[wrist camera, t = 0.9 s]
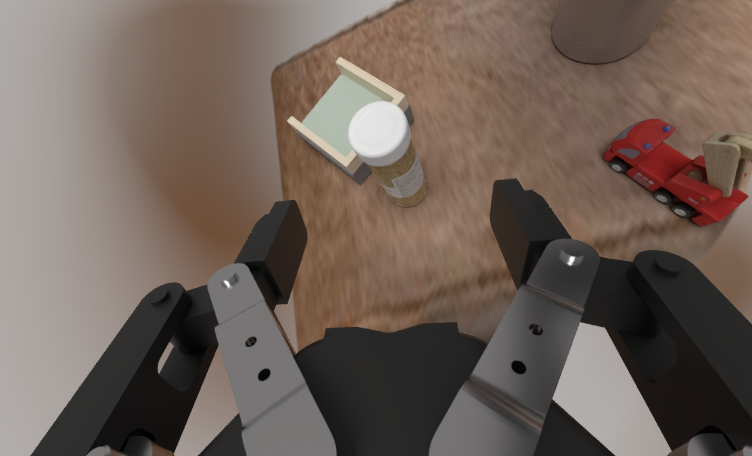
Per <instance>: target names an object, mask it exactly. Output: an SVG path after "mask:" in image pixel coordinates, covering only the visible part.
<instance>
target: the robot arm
mask: <svg viewBox="0 0 752 456" xmlns="http://www.w3.org/2000/svg"><path fill="white" fill-rule="evenodd" d="M673 2H674V0H560V2H559V5H558V8H557V11H556V14H555V18H554V21H553V25H552V38H553V42H554V44H555V45H556V47H557V48H558V50H560V51H561V52H562V53H563V54H564V55H566V56H567V57H569V58H571V59H573V60H576V61H580V62H584V63H606V62H611V61H615V60H618V59H621V58H624V57H626V56H627V55H629V54H631V53H633V52H634V51H636V50H637V49H638V48H639V47H640V46H642V45H643V43H644V42H645V41H646V40H647V38H648V37H649V36H650V34H651V33H652V31H653V30H654V29H655V27H656V26H657V24H658V23H659V21H660V20H661V19H662V17H663V16H664V14H665V13H666V11H667V10H668V9H669V7H670V6H671V5H672V3H673ZM490 222H491V227H492V230H493V232H494V235H495V237H496V239H497V242H498V244H499V247H500V249H501V252H502V254H503V257H504V259H505V261H506V264H507V266H508V269H509V271H510V274H511V276H512V279H513V281H514V283H515V286H516V288H517V291H518V292H517V294H516V295H515V297H514V299H513V301H512V303H511V304H510V306H509V308H508V310H507V311H506V313H505V315H504V317H503V319H502V320H501V322H500V324H499V326H498V328H497V329H496V331H495V333H494V335H493V337H492V338H491V340H490V342H489V344H487V343H486V342H484V341H482V340H480V339H478V338H476V337H473V336H470V335H467V334H464V333H459V332H458V327H457V322H450V323H429V324H421V325H417V326H414V327H410V328H407V329H403V330H400V331H396V332H393V333H385V332H380V331H375V330H370V329H365V328H360V327H344V328H326V330H325V336H324V339H321V340H319V341H316V342H314V343H312V344H310V345H308V346H306V347H305V348H303V349H302V350H300V351H299V352H298V353H297V354H296V352H295V351H294V348H293V347H292V345H291V343H290V341H289V339H288V337H287V335H286V333H285V331H284V330H283V328H282V326H281V324H280V322H279V320H278V318H277V316H276V315H275V313H274V309H275V306H276V305H278V304H288V300H289V297H290V294H291V291H292V288H293V285H294V282H295V278H296V275H297V272H298V269H299V266H300V263H301V260H302V257H303V253H304V250H305V247H306V244H307V230H306V226H305V224H304V221H303V218H302V216H301V213H300V210H299V207H298V205H297V203H296V201H295V200H288V201H279V202H275V204H274V206H273V207H272V209H271V211H270V213H269V214H266V215H264V216H263V217H262V218H261V219H260V220H259V221H258V222H257V223H256V224H255V226H254V228H253V230H252V233H250V235H249V237H248V240H247V241H246V243H245V244H244V246H243V248H242V250H241V252H240V253H239V255H238V257H237V259H236V260H235V262H234V264H231V265H228V266H225V267H223V268H222V269H220V270H218V271H217V272H216V273H215V274H214V275H213V276H212V277H211V278H210V280H209V282H208V284H207V285H204V286H201V287H198V288H195V289H192V290H188V291H186V290H185V289H184V287H183V286H182V285H181V284H179V283H175V282H174V283H167V284H164V285H162V286H159V287H157V288H155V289H154V290H152V291H151V292H150V293H148V294H147V295H146V296H145V297H144V298H143V299H142V300H141V302H140V303H139V305H138V306H137V307H136V309H135V310H134V312H133V313H132V314H131V316H130V317H129V319H128V320H127V322H126V323H125V324H124V326H123V327H122V328H121V330H120V331H119V333H118V334H117V335H116V337H115V338H114V340H113V341H112V342H111V344H110V345H109V347H108V348H107V349H106V351H105V352H104V354H103V355H102V356H101V358H100V359H99V361H98V362H97V363H96V365H95V366H94V368H93V369H92V371H91V372H90V373H89V375H88V376H87V377H86V379H85V380H84V382H83V383H82V384H81V386H80V387H79V389H78V390H77V391H76V393H75V394H74V396H73V397H72V398H71V400H70V401H69V403H68V404H67V406H66V407H65V408H64V410H63V411H62V412H61V414H60V415H59V417H58V418H57V419H56V421H55V422H54V424H53V425H52V426H51V428H50V429H49V431H48V432H47V434H46V435H45V436H44V438H43V439H42V440H41V442H40V443H39V445H38V446H37V447H36V449H35V450H34V452H33V453H32V454H31V456H174V452H175V449H176V447H177V445H178V442H179V440H180V437H181V435H182V432H183V430H184V428H185V425H186V423H187V420H188V418H189V415H190V413H191V411H192V408H193V406H194V403H195V401H196V398H197V396H198V393H199V391H200V389H201V386H202V384H203V381H204V379H205V377H206V374H207V372H208V369H209V367H210V364H211V362H212V360H213V357H214V355H215V352H216V350H217V348H218V345H219V347H220V350H221V353H222V356H223V360H224V364H225V367H226V370H227V373H228V377H229V380H230V384H231V387H232V390H233V394H234V397H235V400H236V404H237V407H238V411H239V413H238V414H237V416H235V417H234V419H233V420H232V421H231V422H230V423H229V424H228V425H227V426H226V427H225V428H224V429H223V430H222V431H221V432H220V433H219V434H218V435H217V436H216V437H215V438H214V440H213V441H212V442H211V443H210V444H209V445H208V446H207V447H206V448H205V449H204V450H203V451H202V452H201V453H200V454H199V455H198V456H615V455H614V454H613V453H612V452H610V451H609V450H608V449H607V448H606V447H605V446H604V445H603V444H602V443H600V442H599V441H598V440H597V439H596V438H595V437H594V436H593V435H591V434H590V433H589V432H588V431H587V430H586V429H585V428H584V427H583V426H582V425H580V424H579V423H578V422H577V421H576V420H575V419H574V418H573V417H572V416H570V415H569V414H568V413H567V412H566V411H565V410H564V409H563V408H561V407H560V406H559V405H558V404H557V403H556V402H555V401H554V400H553V399H552V398H553V395H554V392H555V390H556V387H557V384H558V381H559V379H560V376H561V373H562V370H563V368H564V365H565V362H566V359H567V356H568V354H569V351H570V348H571V345H572V343H573V340H574V336H575V334H576V331H577V328H578V326H579V323H580V322H582V323H587V324H591V325H596V326H600V327H605V329H606V330H607V332H608V334H609V336H610V338H611V340H612V341H613V343H614V345H615V347H616V349H617V351H618V352H619V354H620V356H621V358H622V360H623V362H624V363H625V365H626V367H627V369H628V371H629V373H630V375H631V377H632V378H633V380H634V382H635V384H636V386H637V388H638V389H639V391H640V393H641V395H642V397H643V399H644V400H645V402H646V404H647V406H648V408H649V410H650V412H651V413H652V415H653V417H654V419H655V421H656V423H657V425H658V426H659V428H660V430H661V432H662V434H663V436H664V437H665V439H666V441H667V443H668V445H669V447H670V449H671V450H672V452H671V453H669V454H668V455H667V456H752V324H751V323H750V322H749V321H748V320H747V319H746V318H745V317H744V316H743V315H742V314H741V313H740V312H739V311H738V310H737V309H736V308H735V307H734V306H733V304H732V303H730V301H729V300H728V299H727V298H726V297H725V296H724V295H723V294H722V293H721V292H720V291H719V290H718V289H717V288H716V287H715V286H714V285H713V284H712V283H711V282H710V281H709V280H708V279H707V278H706V277H705V276H704V274H703V273H701V271H700V270H699V269H698V268H697V267H696V266H695V265H693V264H692V263H691V262H689V261H688V260H686V259H684V258H682V257H680V256H678V255H675V254H672V253H669V252H664V251H658V250H648V251H643V252H641V253H639V254H637V255H636V257H635V259H634V260H633V262H629V261H622V260H615V259H608V258H603V257H599V254H598V253H597V252H596V251H595V250H594V249H593V248H592V247H591V246H589V245H587V244H585V243H583V242H581V241H577V240H573V239H572V238H571V236H570V235H569V234H568V232H567V231H566V229H565V228H564V227H563V225H562V224H561V222H560V221H559V219H558V218H557V217H556V215H554V212H553V211H552V209H551V208H549V205H548V204H547V202H546V201H545V199H544V198H543V197H542V196H540V195H539V194H537V193H536V192H534V191H533V190H525V191H524V189H523V187H522V186H521V184H520V183H519V181H518V180H517V179H516V178H515V179H505V180H496V181H495V182H494V185H493V193H492V202H491V210H490ZM169 342H170V343H172V344H173V345H174V347H173V349H172V351H171V353H170V355H169V357H168V359H167V360H166V362H165V364H164V366H163V368H162V370H161V371H160V373H159V374H158V362H159V360H160V358H161V356H162V354H163V352H164V350H165V349H166V347H167V345H168V343H169Z"/></svg>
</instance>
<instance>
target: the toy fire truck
mask: <svg viewBox="0 0 752 456" xmlns="http://www.w3.org/2000/svg"><path fill="white" fill-rule="evenodd" d="M674 131H675V128H674V127H672V126H671V125H669V124H667V123H665V122H664V121H662V120H659V119H648V120H645V121H641V122H639V123H636V124H634V125H632V126H630V127H628V128H627V129H625V130H624V131H623V132H621V133H620V134H619V135H618V137H617V138H616V139H615V141H614V142H613V143H612V144H611V145H610V146H609V147H608V149H607V150H606V152H605V154H604V159H605V160H607V161H612V162H611V163H610V167H611V168H612V169H613V170H614V171H616V172H619V173H622V172H625V171H626V174H627V175H628V176H630V177H631V178H632V179H634V180H635V181H637V182H638V183H640V184H642V185H643V186H644V187H646V188H647V189H649V190H650V191H654V192H655V194H654V197H655V199H656V200H657V201H659V202H661V203H664V204H669V203H673V200H674V201H675V202H677V204H675V205H674V206H673V207H672V211H673V212H674V213H675V214H676V215H678V216H681V217H685V218H686V217H690V216H691V215H693V214H694V216H693V217H692V221H694V222H695V223H696V224H698V225H700V226H705V225H708V224H711V223H714V222H719V221H721V220H722V219H723V218H724V217H725V216H727V215H728V214H729V213H730V212H731V211H733V210H734V209H735V208H736V207H737V206H739V205H740V204H741V203H742V202H743V201H744V200H746V199H747V198H748V195H746V194H745V193H743V192H741V191H740V190H738V189H740V188H741V186H742V182H743V179H744V177H745V176H746V173H745V171H746V167H747V163H748V161H750V162H752V136H751V135H750V134H748V133H742V132H728V131H717V132H715V133H714V134H713V135H711V136H710V137H709V138H708V139H707V140H706V141H704V142H703V144H702V147H703V153H704V156H699V157H697V158H695V159H694V160H691V159H689V158H688V157H686V156H684V155H683V154H681V153H680V152H678V151H676V150H675V149H673V148H672V147H670V146H668V145H667V144H665V143H663V141H664V140H665V139H666V138H667V137H669V136H670V135H671V134H672V133H673V132H674Z"/></svg>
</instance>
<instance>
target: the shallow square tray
mask: <svg viewBox="0 0 752 456" xmlns="http://www.w3.org/2000/svg"><path fill="white" fill-rule="evenodd" d="M336 64H337V66H338V68H339V69H340V71H341V73H342V74H341V75H340V76H339V78H338V79H337V80H336V81H335V83H334V84H333V85H332V86H331V87H330V89H329V90H328V91H327V92H326V94H325V95H324V96H323V97H322V98H321V100H320V101H319V102H318V103H317V105H316V106H315V107H314V108H313V109H312V111H311V112H310V113H309V114H308V116H307V117H306V118H305V119H304V120H303V122H302V123H300V122H299V121H297V120H296V119H295V118H294V117H292V116H291V117H290V118H289V120H288V121H287V122H288V123H289V124H290V125H291V126H292V127H293V128H294V129H295V130H296V131H295V132H296V133H297V134H298V135H299V136H300V137H301V138H302V139H303V140H304V141H305V142H306V143H307V144H309V145H310V146H311V147H313V148H314V149H315V150H316V151H318V152H319V153H320V154H322V155H323V156H324V157H325V158H327V159H328V160H329V161H330V162H332V163H333V164H334V165H336V166H337V167H338V168H339V169H341V170H342V171H343V172H344V173H346V174H347V175H348V176H350V177H351V178H352V179H353V180H355V181H356V182H357V183H358V184H360V185H361V184H362V183H363V182H364V181H365V179H366V178H367V177H368V176H369V175H370V173H371V172H372V171H371V169H370V168H369V166H368V165H367V164H366V163H365V162H363V161H362V160H361V159H360V158H359V157H358V156H357V154H356V153H355V152H354V150H353V149H352V147H351V145H350V143H349V139H348V128H349V124H350V122H351V120H352V118H353V116H354V115H355V114H356V113H357V112H358V111H359V110H360V109H361V108H362V107H364V106H366V105H367V104H370V103H373V102H377V101H386V102H391V103H393V104H395V105H397V106H398V107H399V108H400V109H401V110H402V111H403V112H404V114H405V116H406V118H407V121H408V124H409V126H410V125H411V124H412V122H413V121H414V118H413V115H412V111H411V108H410V105H408V103H407V100H406V96H405V95H404V94H402V93H400V92H398V91H397V90H395V89H393V88H392V87H390V86H388V85H387V84H385V83H383V82H382V81H380V80H378V79H377V78H375V77H373V76H371V75H370V74H368V73H366V72H365V71H363V70H361V69H360V68H358V67H356V66H355V65H353V64H351V63H350V62H348V61H346V60H345V59H343V58H341V57H339V58H338V60H337V61H336Z"/></svg>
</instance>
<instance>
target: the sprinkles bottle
mask: <svg viewBox="0 0 752 456" xmlns="http://www.w3.org/2000/svg"><path fill="white" fill-rule="evenodd" d="M348 139H349V143H350V145H351V147H352V149H353V150H354V152H355V153H356V154H357V156H358V157H359V158H360V159H361V160H362V161H363V162H365V163H366V164H367V165H368V166H369V168H370V169H371V171H372V172H373V174H374V176H375V177H376V179H377V180H378V181H379V183H380V184H381V185H382V187H383V188H384V190H385V191H386V192H387V193H388V194H389V197H390V198H391V200H392V201H393V202H394V203H396V204H397V205H399V206H402V207H410V206H414V205H416V204H418V203H419V202H421V201H422V200H423V198H424V197H425V195H426V193H427V181H426V179H425V177H424V176H423V171H422V168H421V165H420V162H419V158H418V155H417V152H416V149H415V147H414V145H413V143H412V140H411V131H410V127H409V124H408V121H407V118H406V116H405V114H404V112H403V111H402V110H401V109H400V108H399V107H398V106H397V105H395V104H393V103H391V102H386V101H377V102H373V103H370V104H367V105H366V106H364V107H362V108H361V109H360V110H359V111H358V112H357V113H356V114H355V115H354V116H353V118H352V120H351V122H350V124H349V128H348Z"/></svg>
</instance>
